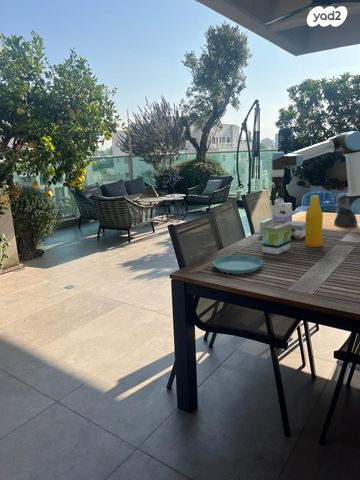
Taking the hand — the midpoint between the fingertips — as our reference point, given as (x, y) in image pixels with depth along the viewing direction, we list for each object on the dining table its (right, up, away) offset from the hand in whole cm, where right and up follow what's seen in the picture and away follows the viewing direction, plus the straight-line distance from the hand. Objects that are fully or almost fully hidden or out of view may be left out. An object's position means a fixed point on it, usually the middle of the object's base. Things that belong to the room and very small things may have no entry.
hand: (277, 208), depth 233 cm
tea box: (-10, -27, -36) cm, 46 cm away
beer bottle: (+13, -24, -30) cm, 40 cm away
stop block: (-6, -17, +5) cm, 18 cm away
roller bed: (+10, -19, -6) cm, 22 cm away
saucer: (-37, -35, -61) cm, 79 cm away
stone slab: (+10, -12, -8) cm, 18 cm away
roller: (0, +1, 0) cm, 1 cm away
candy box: (+13, -10, +32) cm, 35 cm away
